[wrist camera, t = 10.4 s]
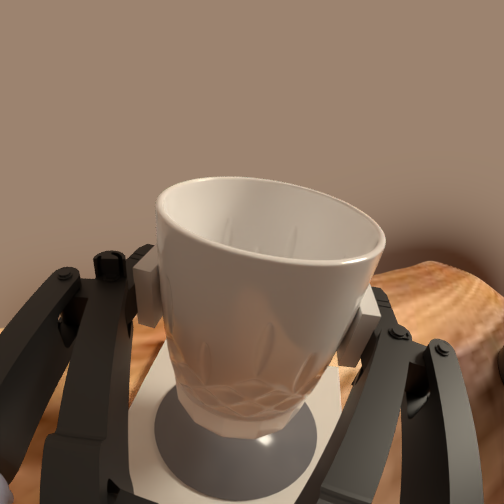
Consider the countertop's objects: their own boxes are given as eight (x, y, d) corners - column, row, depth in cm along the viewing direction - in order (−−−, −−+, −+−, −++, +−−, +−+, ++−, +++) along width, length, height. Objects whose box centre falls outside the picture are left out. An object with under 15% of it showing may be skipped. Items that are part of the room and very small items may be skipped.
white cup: (270, 327, 19) (302, 178, 15) (338, 417, 13) (428, 249, 9) (152, 349, 16) (144, 176, 11) (194, 471, 10) (189, 283, 5)
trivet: (335, 372, 23) (339, 364, 23) (337, 536, 10) (344, 534, 10) (169, 341, 25) (168, 332, 24) (96, 487, 11) (90, 482, 11)
